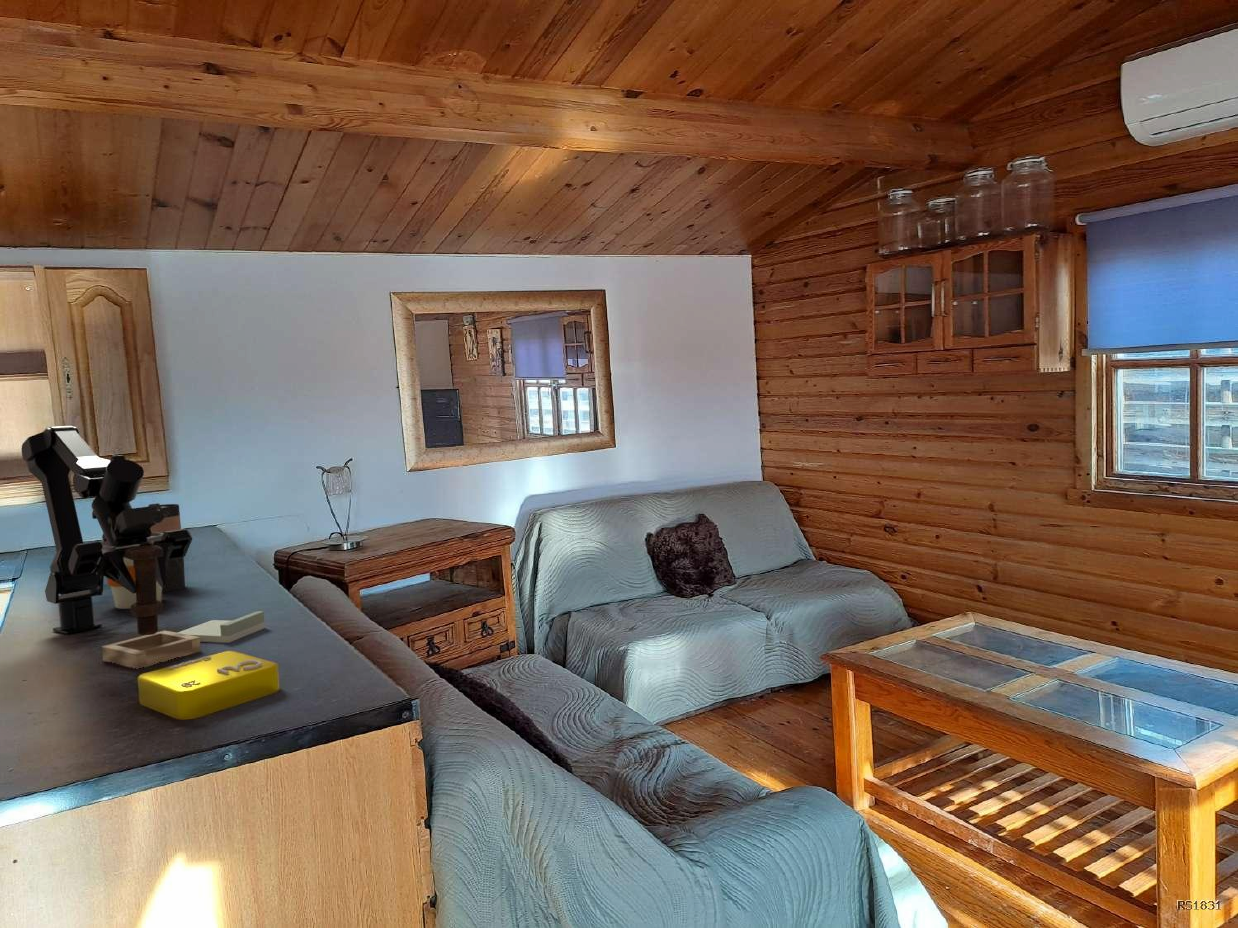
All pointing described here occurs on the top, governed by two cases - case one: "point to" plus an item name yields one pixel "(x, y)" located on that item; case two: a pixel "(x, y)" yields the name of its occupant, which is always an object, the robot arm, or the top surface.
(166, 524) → the travel mug
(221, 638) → the pale green ledge plate
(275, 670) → the element tile
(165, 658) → the socket
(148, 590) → the bolt
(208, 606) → the top surface
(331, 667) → the top surface
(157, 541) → the robot arm
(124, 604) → the reusable coffee cup
